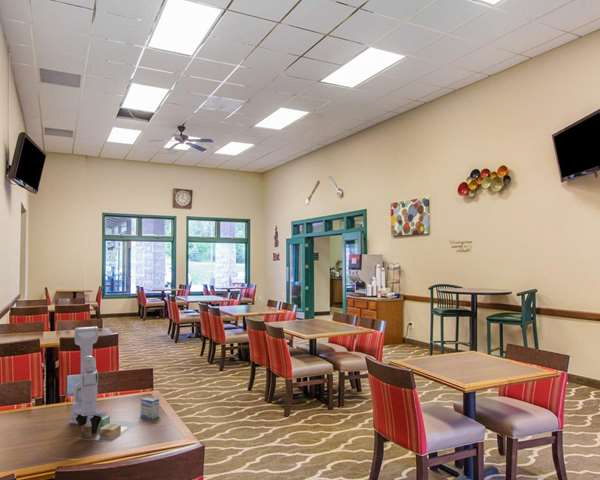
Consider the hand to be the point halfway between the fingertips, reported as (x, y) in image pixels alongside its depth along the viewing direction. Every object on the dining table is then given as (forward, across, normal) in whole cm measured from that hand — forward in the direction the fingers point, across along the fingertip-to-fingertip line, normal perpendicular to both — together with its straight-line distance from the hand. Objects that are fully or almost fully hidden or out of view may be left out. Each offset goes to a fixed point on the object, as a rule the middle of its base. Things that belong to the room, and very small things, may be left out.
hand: (89, 433), depth 196 cm
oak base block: (+1, +8, +3) cm, 9 cm away
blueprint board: (+2, +5, +8) cm, 10 cm away
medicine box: (+2, +13, +27) cm, 30 cm away
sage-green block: (+1, 0, +9) cm, 9 cm away
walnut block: (+1, 0, 0) cm, 1 cm away
